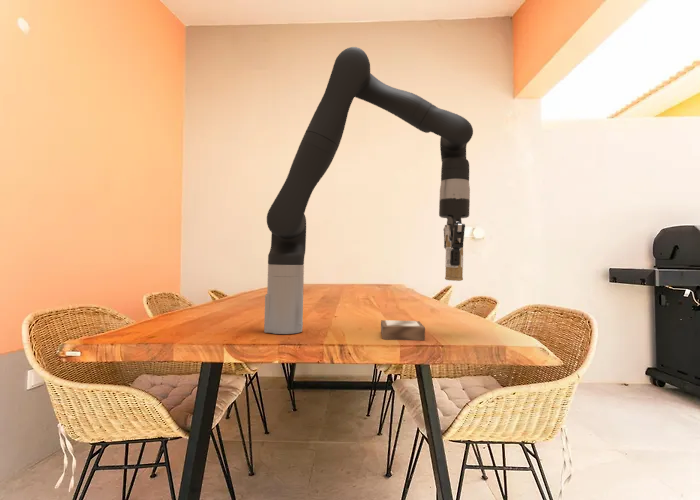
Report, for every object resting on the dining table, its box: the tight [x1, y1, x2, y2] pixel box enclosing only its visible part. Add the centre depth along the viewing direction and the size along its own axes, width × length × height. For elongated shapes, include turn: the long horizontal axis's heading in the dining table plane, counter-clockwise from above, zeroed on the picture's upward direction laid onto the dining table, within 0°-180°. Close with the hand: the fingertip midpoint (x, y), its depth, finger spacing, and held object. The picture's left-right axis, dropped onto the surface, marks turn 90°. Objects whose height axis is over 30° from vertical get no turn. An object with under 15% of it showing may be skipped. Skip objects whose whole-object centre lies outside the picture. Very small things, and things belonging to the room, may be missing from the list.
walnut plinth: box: [380, 319, 426, 341], centre depth 103 cm, size 10×10×3 cm
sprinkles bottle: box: [444, 228, 464, 282], centre depth 105 cm, size 5×5×13 cm
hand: (452, 265), depth 105 cm, fingers closed on sprinkles bottle, 4 cm apart
